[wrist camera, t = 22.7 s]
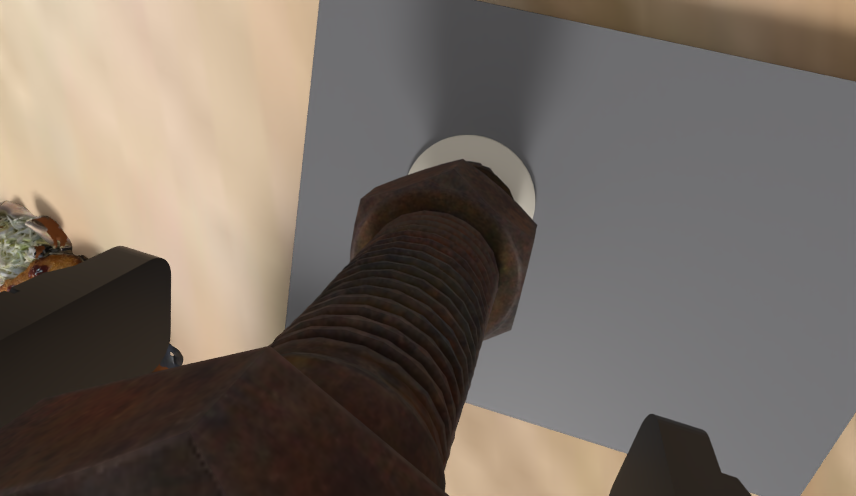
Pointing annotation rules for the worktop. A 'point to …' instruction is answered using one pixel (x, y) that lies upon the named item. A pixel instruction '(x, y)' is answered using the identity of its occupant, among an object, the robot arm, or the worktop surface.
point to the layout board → (614, 218)
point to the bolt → (312, 370)
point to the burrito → (42, 255)
